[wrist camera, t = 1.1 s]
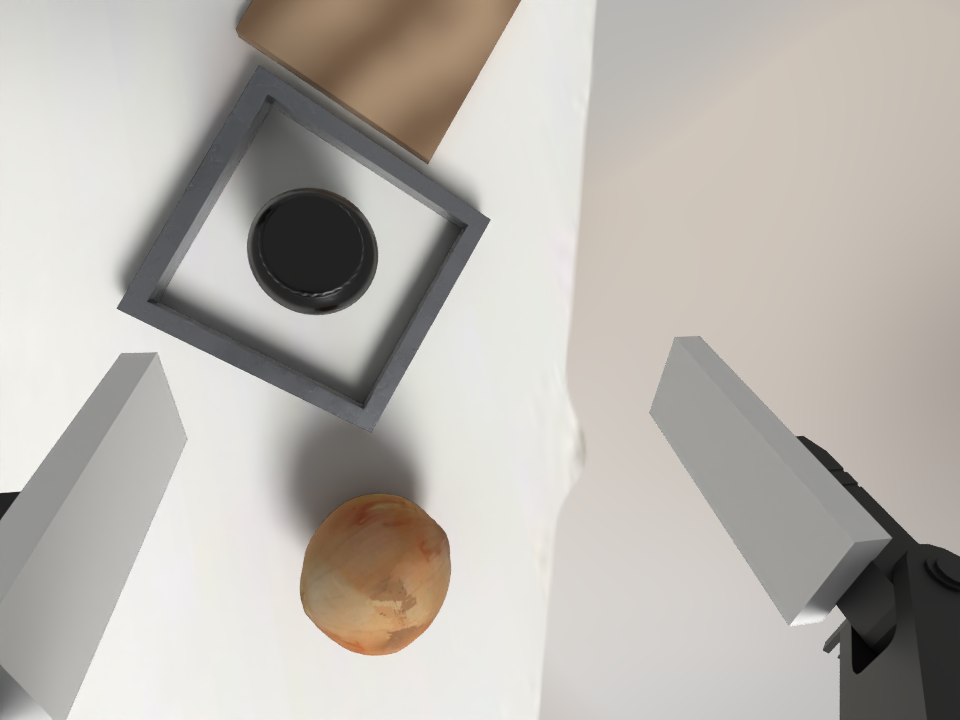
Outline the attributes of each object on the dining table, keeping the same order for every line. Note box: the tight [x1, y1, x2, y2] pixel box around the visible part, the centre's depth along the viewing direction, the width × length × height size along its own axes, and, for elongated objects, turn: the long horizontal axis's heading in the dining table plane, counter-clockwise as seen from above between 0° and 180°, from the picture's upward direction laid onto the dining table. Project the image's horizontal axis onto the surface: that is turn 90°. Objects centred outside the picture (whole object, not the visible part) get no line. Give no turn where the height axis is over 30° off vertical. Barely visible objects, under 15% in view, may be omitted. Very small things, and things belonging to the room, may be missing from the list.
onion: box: [300, 494, 451, 656], centre depth 34 cm, size 10×10×10 cm
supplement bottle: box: [247, 188, 378, 315], centre depth 30 cm, size 7×7×12 cm
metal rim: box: [117, 66, 490, 432], centre depth 35 cm, size 17×17×2 cm
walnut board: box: [236, 0, 521, 164], centre depth 34 cm, size 14×14×1 cm
